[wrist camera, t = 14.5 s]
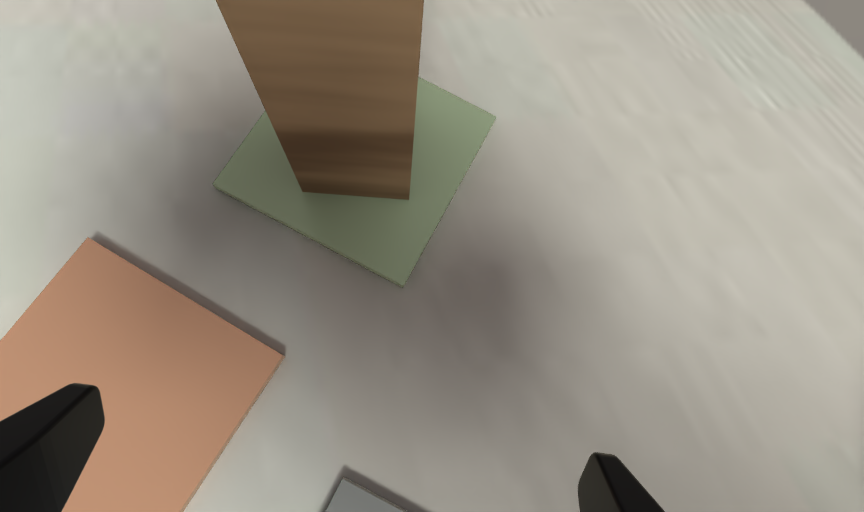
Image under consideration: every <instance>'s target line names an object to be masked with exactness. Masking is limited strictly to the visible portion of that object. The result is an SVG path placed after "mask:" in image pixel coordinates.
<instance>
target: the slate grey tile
mask: <svg viewBox="0 0 864 512" xmlns="http://www.w3.org/2000/svg"><path fill="white" fill-rule="evenodd" d="M325 512H408V511H406V510H404V509H403V508H401V507H399V506H397V505H395V504H393V503H391V502H390V501H388V500H386V499H384V498H382V497H380V496H379V495H377V494H375V493H373V492H371V491H369V490H367V489H366V488H364V487H362V486H360V485H358V484H356V483H354V482H353V481H351V480H349V479H347V478H345V477H343V478H342V480H341V482H340V484H339V486H338V488H337V490H336V492H335V494H334V496H333V498H332V500H331V502H330V504H329V506H328V507H327V509H326V511H325Z"/></svg>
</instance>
